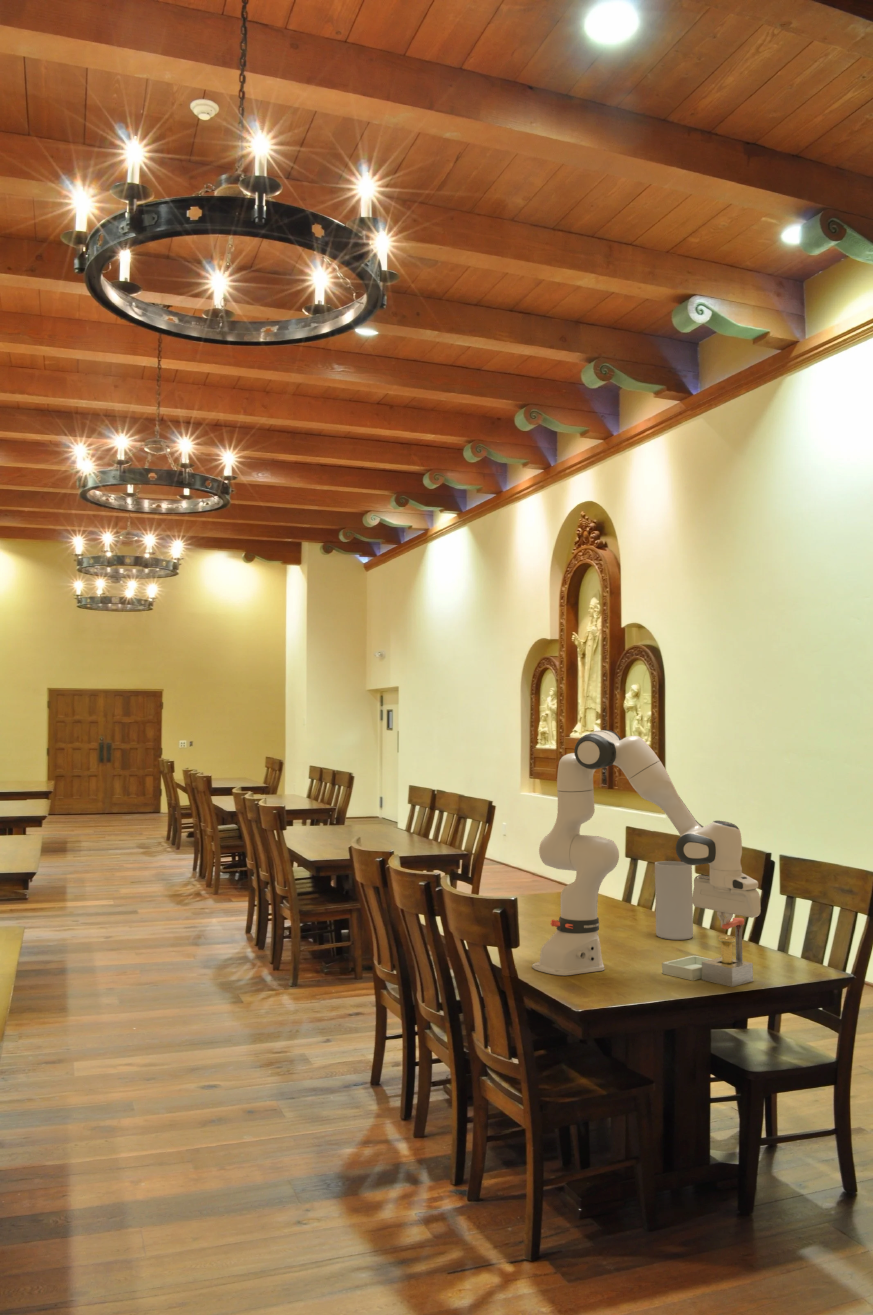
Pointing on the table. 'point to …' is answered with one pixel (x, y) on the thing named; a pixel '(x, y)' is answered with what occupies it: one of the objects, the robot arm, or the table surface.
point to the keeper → (733, 923)
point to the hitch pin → (726, 949)
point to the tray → (685, 967)
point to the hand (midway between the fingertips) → (725, 928)
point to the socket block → (729, 967)
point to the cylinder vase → (673, 900)
